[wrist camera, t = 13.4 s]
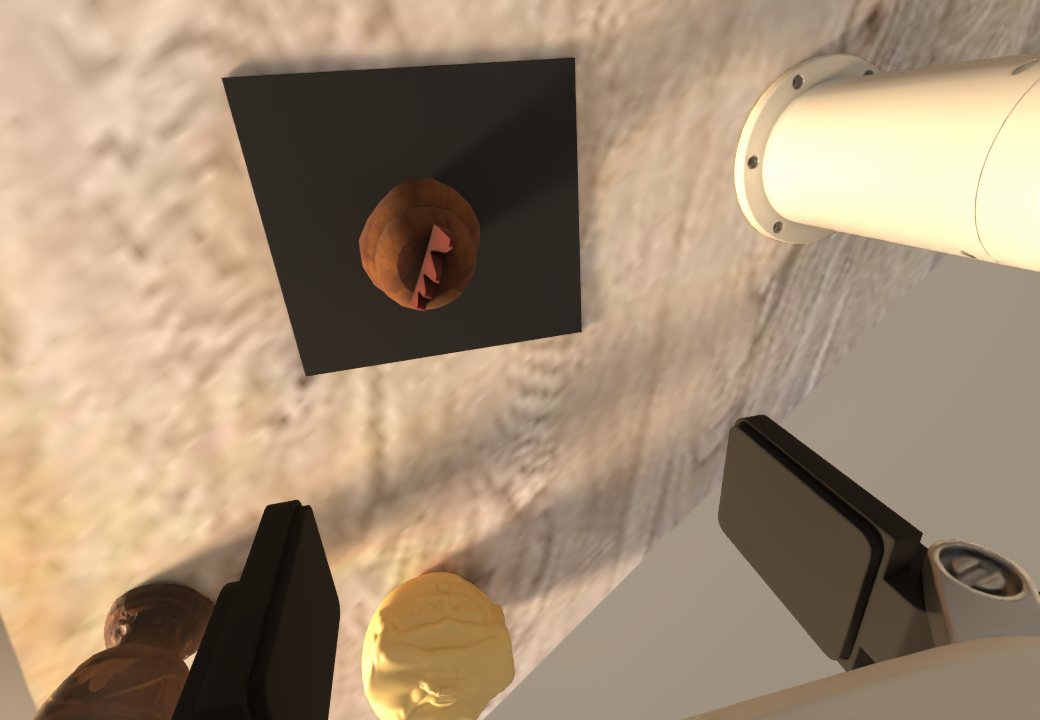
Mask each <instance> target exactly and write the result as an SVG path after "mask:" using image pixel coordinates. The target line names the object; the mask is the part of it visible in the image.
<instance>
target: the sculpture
mask: <svg viewBox="0 0 1040 720" xmlns="http://www.w3.org/2000/svg"><path fill="white" fill-rule="evenodd" d="M511 648H512V643H511V638H510V635H509V632H508V629H507V627H506V626H505V619H504V614H503V610H502V608H501V606H500V605H498V604H494V603H493V602H492V601H491V600H490V599H489V598H488V597H487V596H486V595H485V594H484V593H483V592H482V591H481V590H480V589H479V588H478V587H477V586H475V585H474V584H472V583H471V582H469V581H467V580H465V579H463V578H461V577H460V576H459V575H457V574H454V573H447V572H433V573H427V574H423V575H421V576H420V577H417V578H414V579H412V580H409V581H407V582H405V583H404V584H402V585H400V586H399V587H397V588H396V589H395V590H394V591H392V592H391V593H390V594H389V595H388V596H387V597H386V598H385V599H384V601H383V602H382V603H381V605H380V606H379V607H378V609H377V611H376V612H375V614H374V616H373V618H372V620H371V622H370V625H369V627H368V630H367V633H366V637H365V641H364V647H363V655H362V674H363V682H364V691H365V694H366V696H367V697H368V699H369V702H370V704H371V706H372V708H373V709H374V711H375V713H376V714H377V715H378V717H379V718H380V719H381V720H476V719H477V718H478V717H479V715H480V713H481V712H482V711H483V710H484V708H485V707H486V706H487V704H488V703H489V701H490V700H491V699H493V698H494V697H495V696H496V695H497V694H499V693H501V692H502V691H504V690H505V688H506V687H507V686H509V685H510V684H511V682H512V681H513V678H514V674H515V668H514V660H513V653H512V649H511Z"/></svg>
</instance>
